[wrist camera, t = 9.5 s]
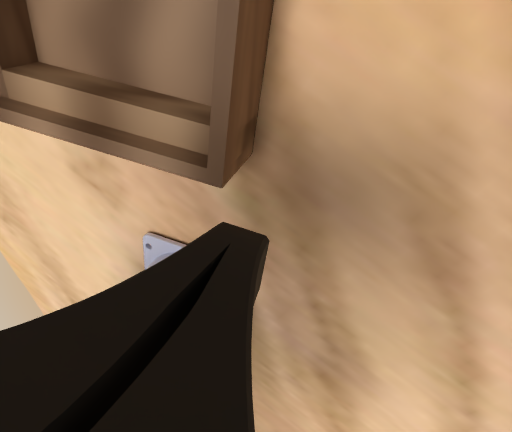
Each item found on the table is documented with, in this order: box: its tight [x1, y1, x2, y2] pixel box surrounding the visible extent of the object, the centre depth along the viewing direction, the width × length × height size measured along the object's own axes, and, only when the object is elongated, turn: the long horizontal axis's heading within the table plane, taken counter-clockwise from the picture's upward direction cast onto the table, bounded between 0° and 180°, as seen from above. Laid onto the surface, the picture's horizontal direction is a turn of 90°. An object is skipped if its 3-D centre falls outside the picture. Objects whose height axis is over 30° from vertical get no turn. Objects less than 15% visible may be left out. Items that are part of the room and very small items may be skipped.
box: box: [0, 0, 274, 188], centre depth 16 cm, size 14×12×4 cm
